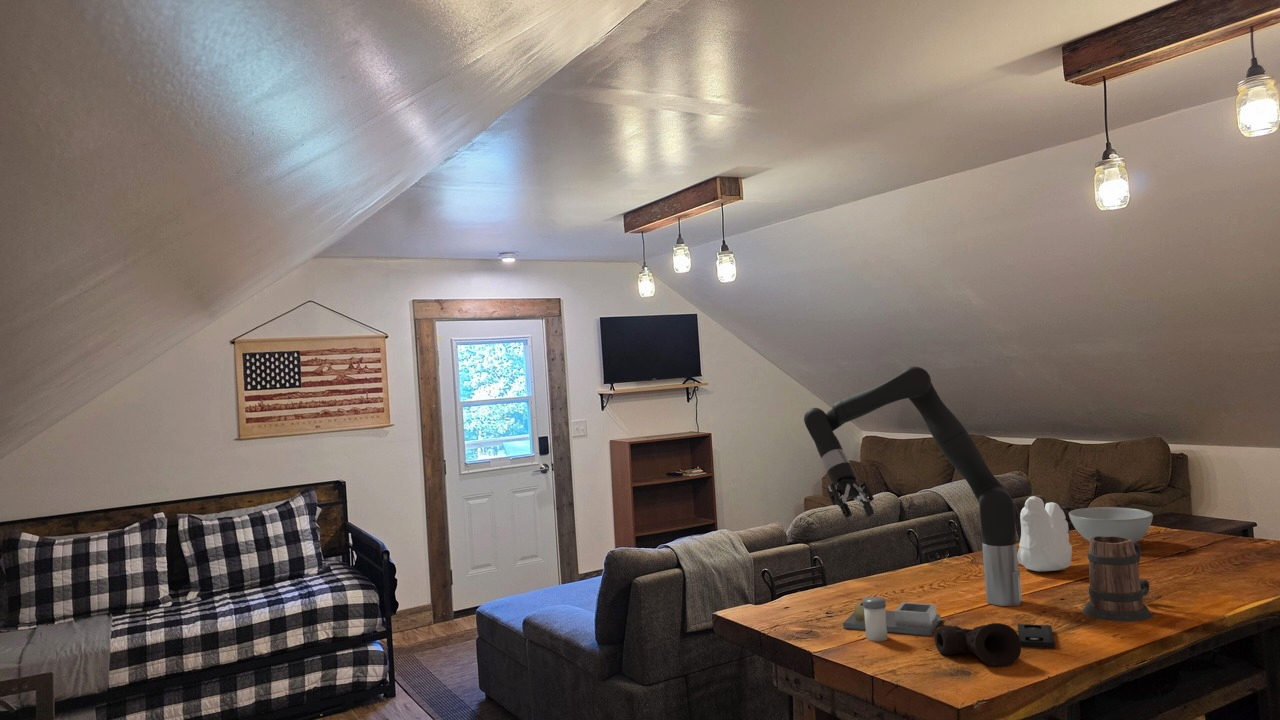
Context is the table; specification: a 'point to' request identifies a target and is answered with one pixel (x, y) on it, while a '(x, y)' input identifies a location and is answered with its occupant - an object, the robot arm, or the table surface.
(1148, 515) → the decorative bowl
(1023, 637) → the vhs tape
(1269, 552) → the table surface
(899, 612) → the plate
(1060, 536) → the white figurine
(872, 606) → the grey and white cylinder
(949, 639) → the pipe
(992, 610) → the table surface
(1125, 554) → the tankard
